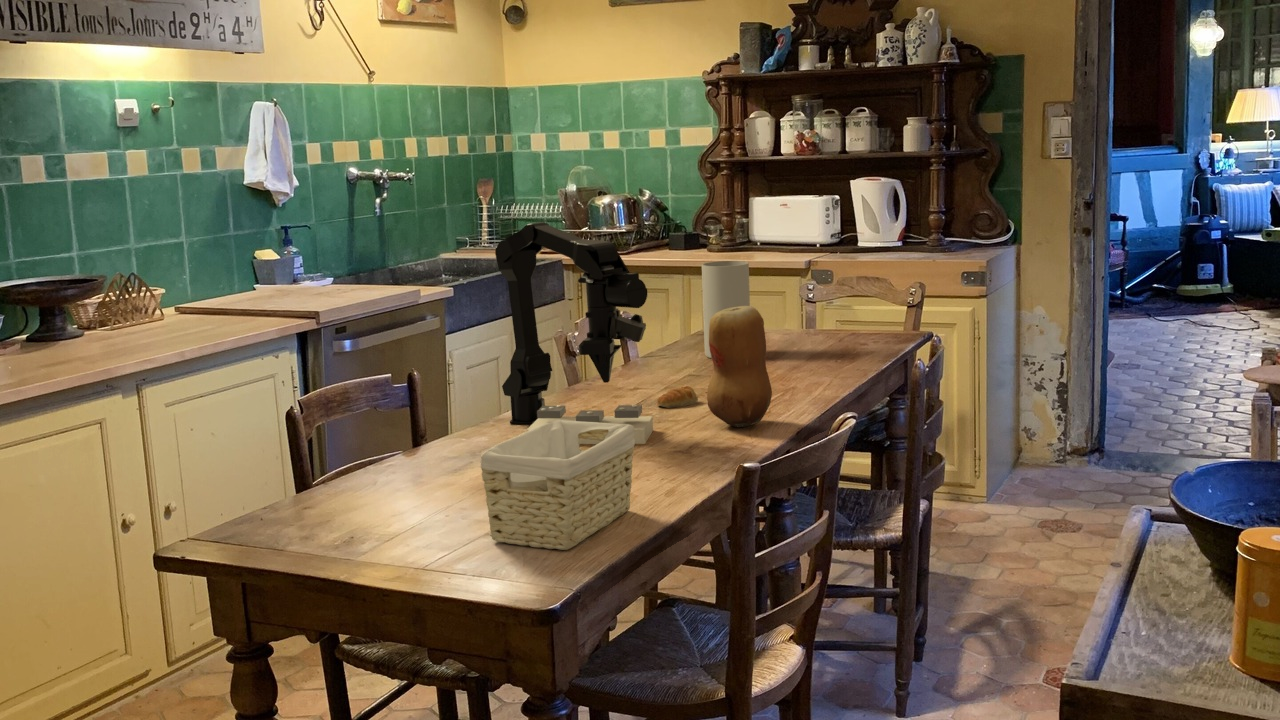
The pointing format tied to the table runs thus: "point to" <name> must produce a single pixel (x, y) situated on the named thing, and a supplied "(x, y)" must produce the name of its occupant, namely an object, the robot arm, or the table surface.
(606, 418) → the panel
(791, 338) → the table surface
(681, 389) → the pastry
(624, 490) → the storage basket
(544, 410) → the button three pips
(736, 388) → the butternut squash
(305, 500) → the table surface
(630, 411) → the button two pips
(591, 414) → the button one pip
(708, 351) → the cylinder vase
